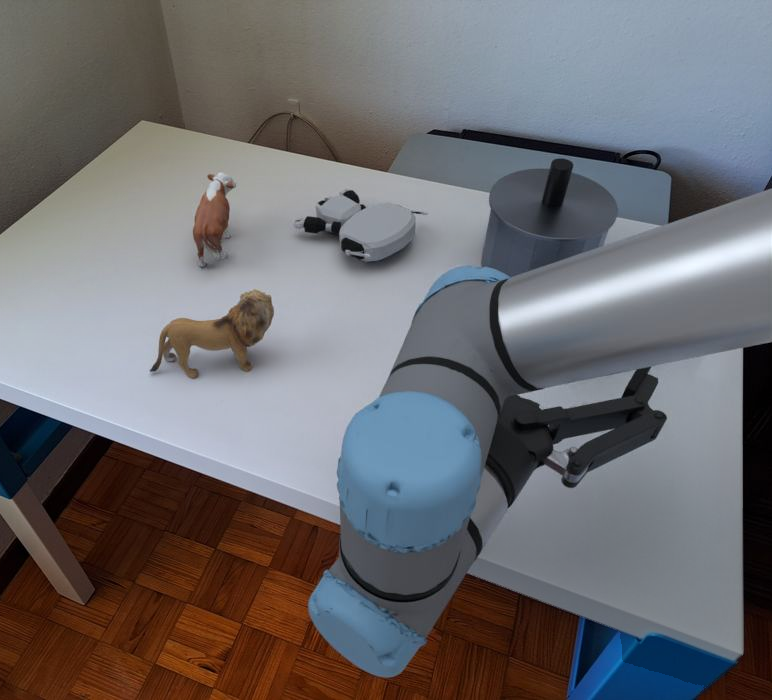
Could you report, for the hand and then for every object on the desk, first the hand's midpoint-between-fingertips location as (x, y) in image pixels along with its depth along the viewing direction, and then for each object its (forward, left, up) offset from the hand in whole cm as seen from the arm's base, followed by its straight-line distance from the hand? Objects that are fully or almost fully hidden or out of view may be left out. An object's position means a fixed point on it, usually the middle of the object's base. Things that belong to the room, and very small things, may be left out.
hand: (578, 322), depth 63 cm
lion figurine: (+33, +15, -13) cm, 39 cm away
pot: (+11, -21, -12) cm, 26 cm away
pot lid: (+11, -21, -3) cm, 24 cm away
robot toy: (+33, -13, -13) cm, 38 cm away
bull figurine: (+48, -1, -13) cm, 50 cm away
